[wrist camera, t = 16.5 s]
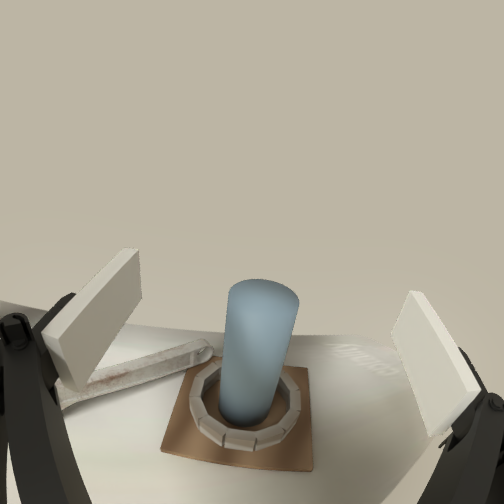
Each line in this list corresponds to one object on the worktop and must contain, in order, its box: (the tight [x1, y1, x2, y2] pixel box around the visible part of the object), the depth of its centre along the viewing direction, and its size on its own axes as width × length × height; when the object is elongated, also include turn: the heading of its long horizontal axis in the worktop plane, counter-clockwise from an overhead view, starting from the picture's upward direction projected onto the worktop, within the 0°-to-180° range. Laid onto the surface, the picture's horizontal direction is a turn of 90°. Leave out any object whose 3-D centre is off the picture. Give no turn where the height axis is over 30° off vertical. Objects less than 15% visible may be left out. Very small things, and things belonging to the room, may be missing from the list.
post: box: [218, 279, 299, 427], centre depth 28 cm, size 6×6×16 cm
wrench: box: [55, 339, 214, 410], centre depth 29 cm, size 8×2×30 cm
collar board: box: [160, 353, 313, 472], centre depth 31 cm, size 16×16×3 cm
